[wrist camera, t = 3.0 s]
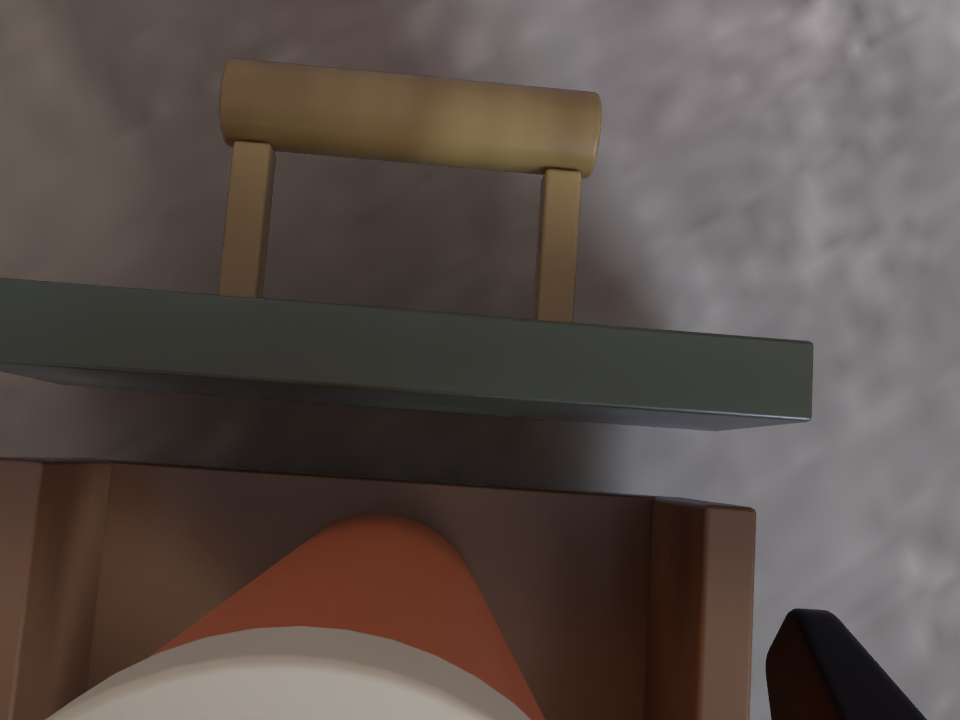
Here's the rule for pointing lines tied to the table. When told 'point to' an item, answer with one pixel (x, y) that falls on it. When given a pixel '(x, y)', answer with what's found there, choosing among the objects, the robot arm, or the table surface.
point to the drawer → (390, 384)
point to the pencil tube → (334, 641)
